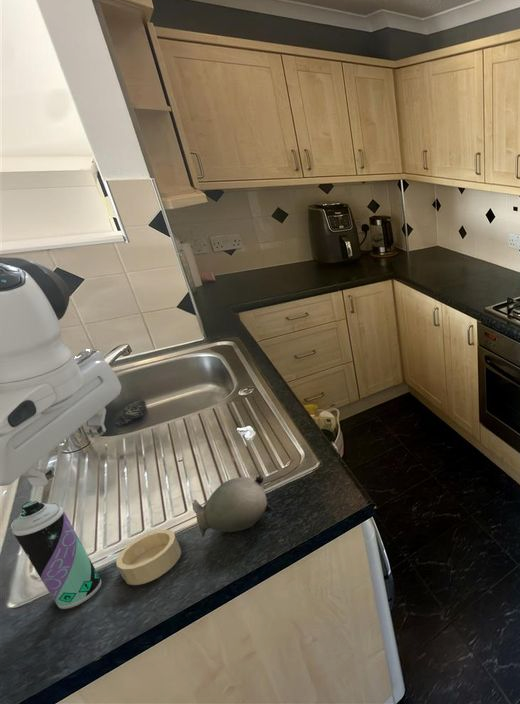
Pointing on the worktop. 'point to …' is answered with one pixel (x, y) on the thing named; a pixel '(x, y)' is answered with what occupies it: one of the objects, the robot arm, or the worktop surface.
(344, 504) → the worktop surface
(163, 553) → the beige base ring
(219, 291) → the worktop surface
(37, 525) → the spray can
